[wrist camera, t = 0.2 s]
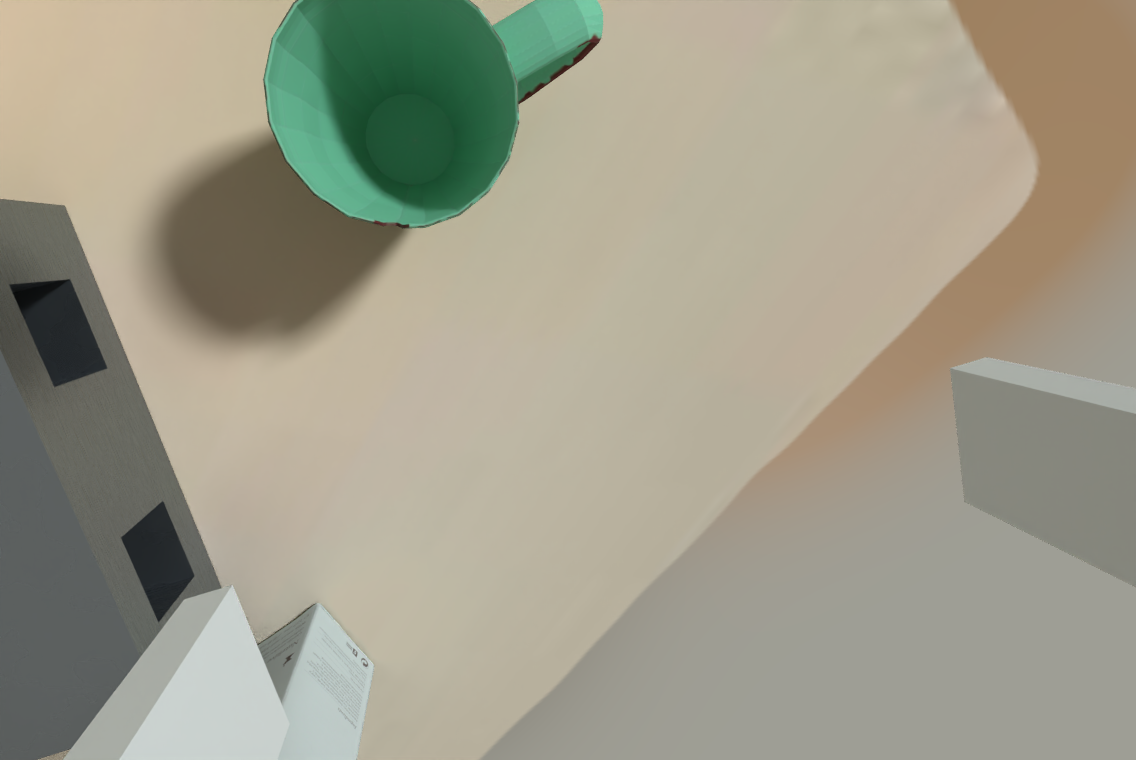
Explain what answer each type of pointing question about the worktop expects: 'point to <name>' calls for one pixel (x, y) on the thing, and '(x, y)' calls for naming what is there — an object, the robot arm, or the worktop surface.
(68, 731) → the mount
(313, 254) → the worktop surface
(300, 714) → the skincare box
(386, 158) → the mug
